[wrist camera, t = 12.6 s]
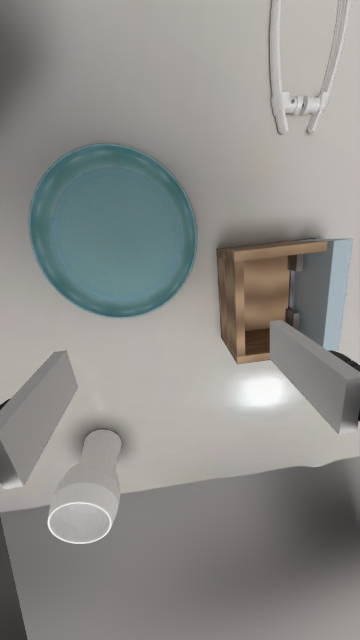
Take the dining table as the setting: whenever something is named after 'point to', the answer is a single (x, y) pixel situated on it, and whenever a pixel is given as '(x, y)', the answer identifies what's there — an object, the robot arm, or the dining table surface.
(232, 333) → the cabinet
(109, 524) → the cup
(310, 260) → the door
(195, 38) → the dining table surface
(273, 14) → the door handle
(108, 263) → the saucer
